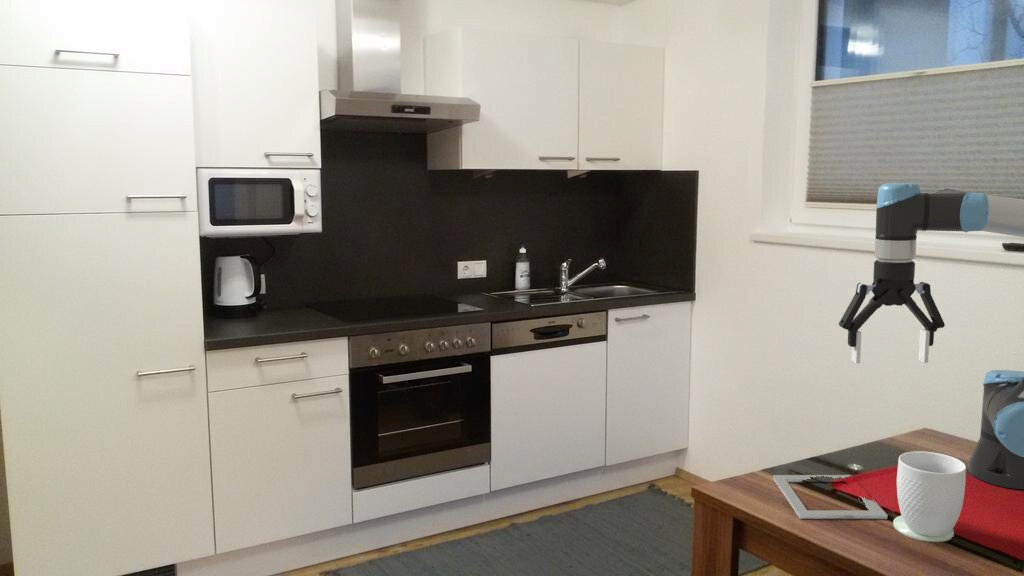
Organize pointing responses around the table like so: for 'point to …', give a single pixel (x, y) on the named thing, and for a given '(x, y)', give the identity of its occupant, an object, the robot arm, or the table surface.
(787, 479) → the grey rectangular frame
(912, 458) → the mug
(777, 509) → the table surface
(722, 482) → the table surface
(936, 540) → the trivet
